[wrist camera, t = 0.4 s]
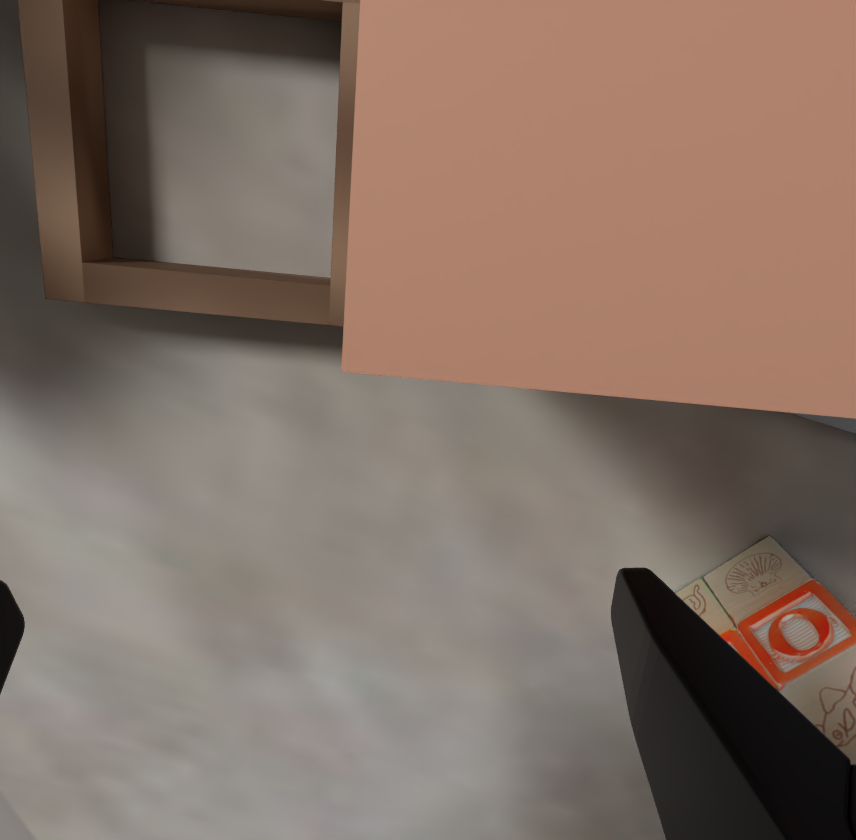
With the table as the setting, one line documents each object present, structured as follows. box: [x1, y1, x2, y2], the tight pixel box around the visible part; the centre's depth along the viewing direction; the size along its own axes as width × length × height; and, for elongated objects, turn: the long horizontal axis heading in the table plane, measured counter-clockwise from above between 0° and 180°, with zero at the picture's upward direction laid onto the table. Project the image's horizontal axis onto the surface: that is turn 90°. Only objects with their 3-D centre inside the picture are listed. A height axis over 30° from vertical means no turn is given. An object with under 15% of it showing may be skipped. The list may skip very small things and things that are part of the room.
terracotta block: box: [341, 0, 856, 419], centre depth 13 cm, size 6×6×16 cm
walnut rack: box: [17, 0, 360, 326], centre depth 19 cm, size 10×19×2 cm, turn 85°
